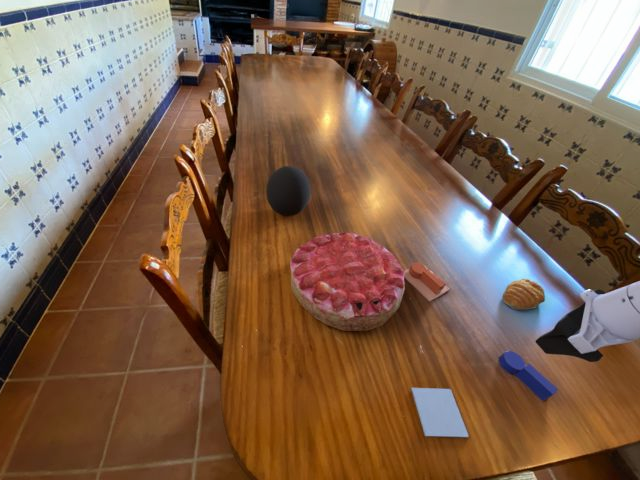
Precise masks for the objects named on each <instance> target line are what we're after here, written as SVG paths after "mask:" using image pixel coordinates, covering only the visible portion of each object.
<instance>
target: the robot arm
mask: <svg viewBox="0 0 640 480" xmlns="http://www.w3.org/2000/svg"><path fill="white" fill-rule="evenodd" d="M579 297H580V298H581V299H582V300H583V303H581V304H580V305H579V306H577V307H576V308H573V309H572V310H571V311H569V312H567V313H566V314H565V315H564V316H563V317H562V318H560V319H559V320H558V321H557V323H555V325H554V328H553V329H551V330H549V331H547V332H545V333H544V334H542V335H540V336H539V337H538V338H537V339H536V340H535V344H536V345H537V346H538V347H539V348H540V349H541V350H542V351H543V352H544V354H545V355H555V356H556V355H558V356H559V355H561V356H569V357H575V358H578V359H580V360H581V359H582V360H584V361H587V362H589V363H596V362H599V361H600V360H601V359H602V358H603V357H604V354H603V353H601V351H600V350H599V349H600V348H602V347H603V348H604V347H608V346H609V347H610V346H615V345H621V344H626V343H632V342H635V341H637V340H638V339H640V280H639V281H636V282H633V283H631V284H627V285H624V286H623V287H619V288H617V289H614V290H611V291H608V292H605V291H604V290H602V289H599V288H596V289H594V290H593V289H590V288H589V289H586V290H584V291H582V292H581V293H580V296H579Z"/></svg>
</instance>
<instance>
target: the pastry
mask: <svg viewBox="0 0 640 480" xmlns="http://www.w3.org/2000/svg"><path fill="white" fill-rule="evenodd" d="M502 301H503V302H504V303H505V304H506V305H507V306H509V307H510V308H512V309H514V310H516V311H518V310H519V311H521V310H531V309H535V308H537V307H538V306H539V305H541V304H543V303H545V302H546V295H545V290H544V288H543V287H542V286H541V285H540V284H539V283H538V282H536V281H532V280H530V279H529V278H521V279H518V280H514V281H512V282H510V283H509V284H508V285H507V286H506V288H505V291H503V294H502Z"/></svg>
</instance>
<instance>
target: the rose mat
mask: <svg viewBox="0 0 640 480" xmlns="http://www.w3.org/2000/svg"><path fill="white" fill-rule="evenodd" d="M409 269H410V267H409V268H407V269H405V270H404V280H406V281H407V283H408V284H410V285H411V286H412V287H413V288H414V289H415V290H416V291H417V292H418V293H419V294H420V295H421V296H422V297H423V298H424V299H425V300H427V301H428V303H431V302H433V301H434V300H436V299H437V298H439V297H441V296H442V295H444V294H446V293H447V292H449V291H450V288H449V287H448V286H446V285H445V286H444V288H443V289H442V291H441V292H440V293H438V294H437V295H435V294H434V293H433V292H432V291H431V290H430V289H429V288H428V287H427V286H426V285H425V284H424V283H422V282H421V281H420V280H419V279H416V278H414V277H412V276H411V275H410V274H409Z"/></svg>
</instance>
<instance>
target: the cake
mask: <svg viewBox="0 0 640 480" xmlns="http://www.w3.org/2000/svg"><path fill="white" fill-rule="evenodd" d="M289 265H290V286H291V290H292V292H293V294H294V297H295V298H296V299H297V300H298V302H299V303H300V305H301V307H303V308H304V309H305V310H306V311H307V312H308V313H309V314H311V316H313V317H314V318H315V319H317V320H318V321H319V322H321V323H322V324H325V325H327V326H330V327H332V328H335V329H338V330H341V331H350V332H351V331H352V332H353V331H354V332H363V331H364V332H365V331H370V330H373V329H376V328H378V327H381V326H383V325H384V324H385V323H386V322H387V321H388V320H389V319H390V318H391V317H392V316H393V315H394V314H395V313H396V312H397V311H398V310H399V308H400V306H401V304H402V303H401V302H402V299H403V296H404V293H405V290H406V288H405V287H406V286H405V278H404V271H405V270H404V268H403V267H402V265H401V264H400V263H399V261H398V260H397V258H396V257H395V255H394V253H393V252H392V251H389V250H388V249H386V247H384V246H383V245H381V244H379V243H377V242H376V241H374V240H373V239H372V238H371V237H370V236H366V235H365V236H364V235H359V234H356V233H353V232H342V233H339V232H335V231H334V232H332V233H330V234H319V235H317V236H314V237H313V238H312V239H310V240H309V241H308V242H307V243H304V244H300V245H299V246H298V247H297V248H296V250H295V252H294V254H293V256H292V257H291V259H290V260H289Z"/></svg>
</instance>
